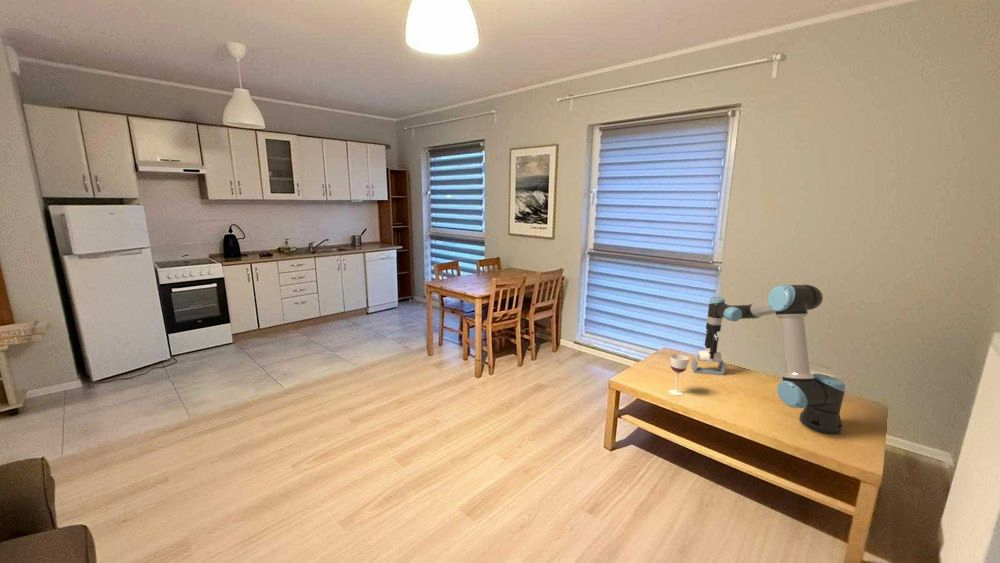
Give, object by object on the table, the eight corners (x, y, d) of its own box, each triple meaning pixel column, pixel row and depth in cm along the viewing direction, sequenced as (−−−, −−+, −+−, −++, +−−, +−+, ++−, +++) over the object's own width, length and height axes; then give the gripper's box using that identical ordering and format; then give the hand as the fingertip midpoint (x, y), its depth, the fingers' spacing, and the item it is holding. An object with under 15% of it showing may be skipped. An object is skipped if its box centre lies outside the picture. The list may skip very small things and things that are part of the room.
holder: (723, 375, 230) (725, 364, 229) (694, 372, 233) (695, 361, 232) (720, 370, 236) (721, 359, 235) (691, 368, 239) (692, 357, 238)
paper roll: (717, 362, 234) (717, 352, 235) (721, 362, 228) (721, 352, 229) (697, 360, 236) (697, 350, 237) (700, 361, 231) (700, 350, 231)
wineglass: (687, 396, 204) (691, 360, 200) (670, 396, 205) (674, 359, 200) (680, 389, 212) (684, 354, 208) (664, 388, 212) (668, 353, 208)
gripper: (726, 329, 219) (721, 368, 224) (715, 319, 237) (710, 355, 242) (712, 328, 220) (706, 366, 225) (701, 318, 238) (697, 354, 243)
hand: (708, 360), depth 233 cm, fingers closed on paper roll, 6 cm apart
